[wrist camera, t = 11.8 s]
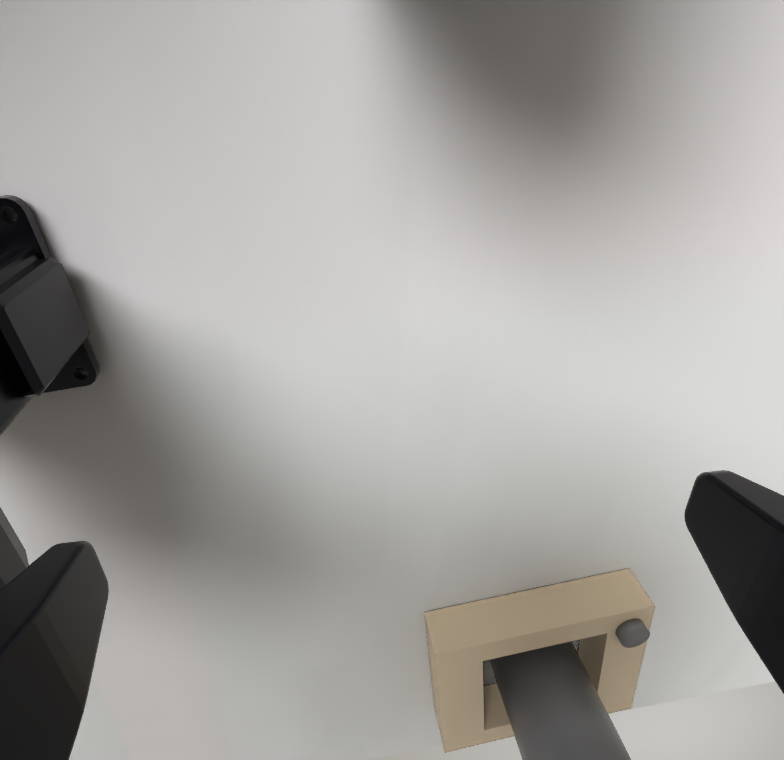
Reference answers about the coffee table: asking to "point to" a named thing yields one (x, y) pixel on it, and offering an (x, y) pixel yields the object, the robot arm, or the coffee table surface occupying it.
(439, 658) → the tan square frame
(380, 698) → the coffee table surface
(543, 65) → the coffee table surface
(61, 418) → the coffee table surface
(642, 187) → the coffee table surface
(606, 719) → the canister
